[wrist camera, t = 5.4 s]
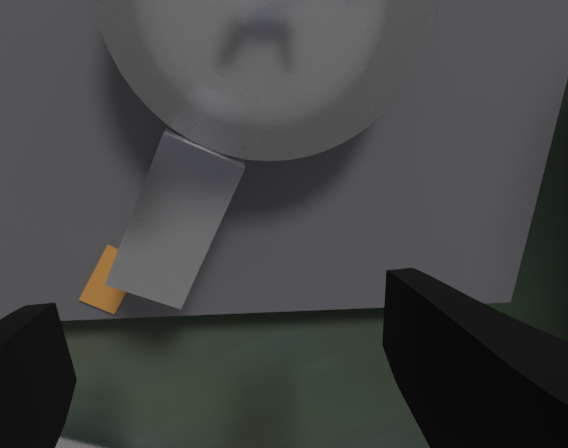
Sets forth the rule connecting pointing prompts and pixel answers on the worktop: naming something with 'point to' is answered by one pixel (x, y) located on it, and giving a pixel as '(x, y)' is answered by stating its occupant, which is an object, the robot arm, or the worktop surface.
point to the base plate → (281, 173)
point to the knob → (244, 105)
